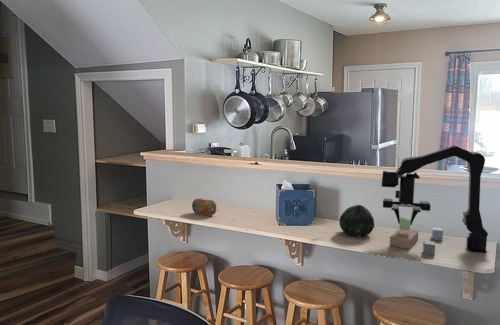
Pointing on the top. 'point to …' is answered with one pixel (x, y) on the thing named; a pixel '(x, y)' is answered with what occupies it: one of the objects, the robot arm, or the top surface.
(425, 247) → the charcoal block
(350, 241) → the top surface
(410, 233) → the brick
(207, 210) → the tin
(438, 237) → the bluegrey block
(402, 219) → the green block
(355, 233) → the squash
